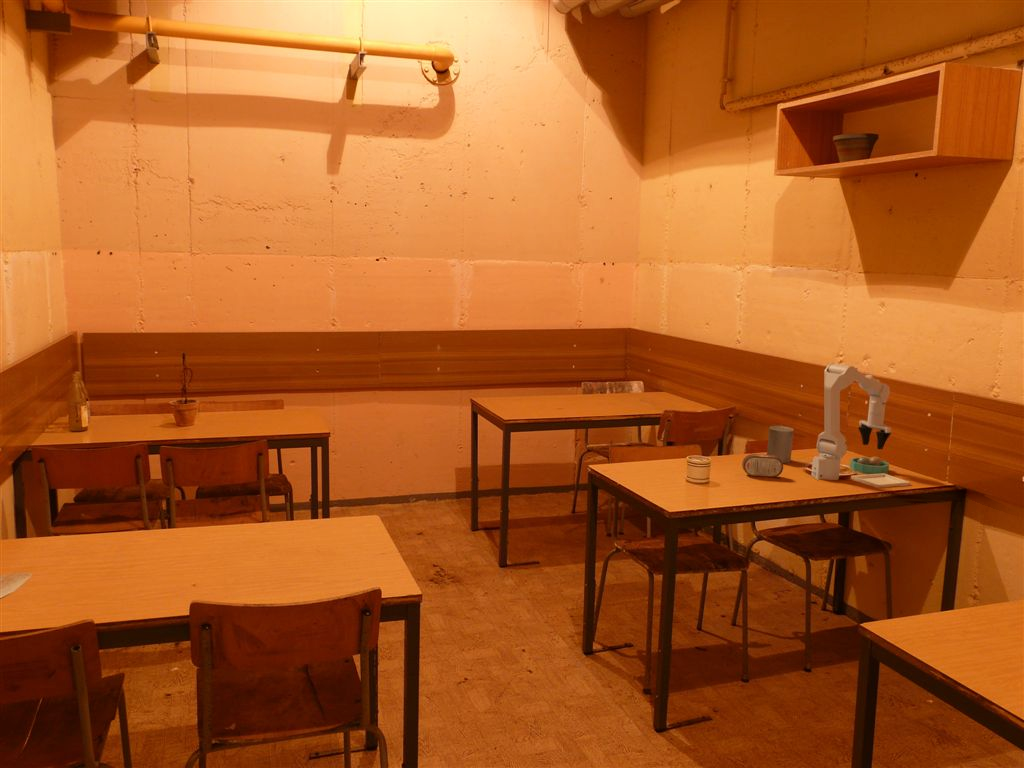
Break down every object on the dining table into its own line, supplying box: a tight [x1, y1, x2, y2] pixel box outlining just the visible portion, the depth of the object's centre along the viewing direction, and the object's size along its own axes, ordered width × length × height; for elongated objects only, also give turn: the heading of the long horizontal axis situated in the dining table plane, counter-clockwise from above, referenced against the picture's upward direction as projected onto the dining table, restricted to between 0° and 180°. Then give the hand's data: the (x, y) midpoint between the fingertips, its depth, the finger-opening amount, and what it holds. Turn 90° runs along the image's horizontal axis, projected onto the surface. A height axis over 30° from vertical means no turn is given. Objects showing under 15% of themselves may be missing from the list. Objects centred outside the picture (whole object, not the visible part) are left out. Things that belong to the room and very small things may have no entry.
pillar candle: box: [766, 424, 795, 464], centre depth 340 cm, size 10×10×15 cm
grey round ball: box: [857, 456, 870, 465], centre depth 328 cm, size 5×5×5 cm
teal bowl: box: [849, 457, 890, 475], centre depth 328 cm, size 14×14×4 cm
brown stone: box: [869, 456, 883, 466], centre depth 329 cm, size 5×5×5 cm
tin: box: [741, 453, 784, 478], centre depth 314 cm, size 15×3×8 cm, turn 84°
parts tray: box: [850, 473, 911, 489], centre depth 310 cm, size 16×13×2 cm
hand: (872, 446), depth 325 cm, fingers open, 7 cm apart
